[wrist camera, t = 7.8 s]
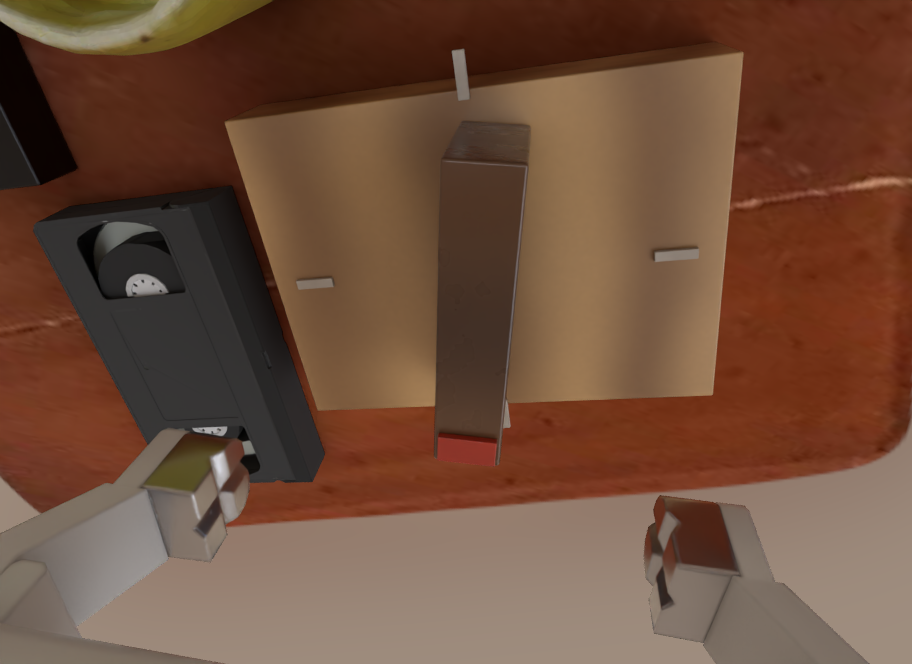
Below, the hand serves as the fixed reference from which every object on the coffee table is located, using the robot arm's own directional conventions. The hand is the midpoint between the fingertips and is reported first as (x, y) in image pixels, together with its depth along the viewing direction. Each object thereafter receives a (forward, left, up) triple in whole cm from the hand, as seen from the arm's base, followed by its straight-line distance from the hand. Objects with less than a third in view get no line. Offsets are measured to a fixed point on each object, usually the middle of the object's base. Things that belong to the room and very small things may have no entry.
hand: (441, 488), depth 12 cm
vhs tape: (+14, +4, -14) cm, 20 cm away
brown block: (0, 0, -11) cm, 11 cm away
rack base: (0, 0, -14) cm, 14 cm away
